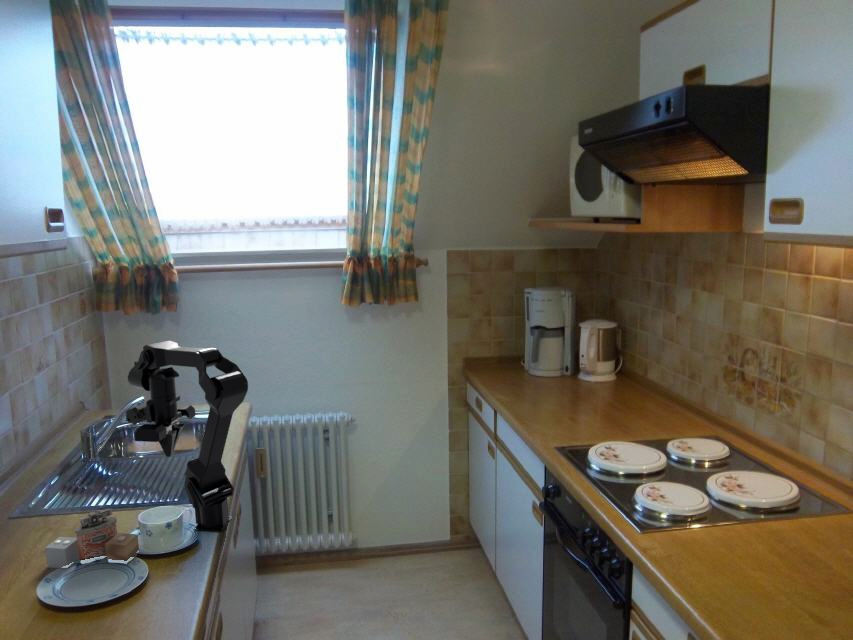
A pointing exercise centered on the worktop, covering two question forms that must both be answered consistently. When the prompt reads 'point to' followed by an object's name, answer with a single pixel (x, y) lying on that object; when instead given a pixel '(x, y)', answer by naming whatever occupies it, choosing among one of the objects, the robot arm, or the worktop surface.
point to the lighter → (95, 534)
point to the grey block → (62, 552)
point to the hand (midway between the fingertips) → (168, 456)
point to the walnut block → (122, 546)
